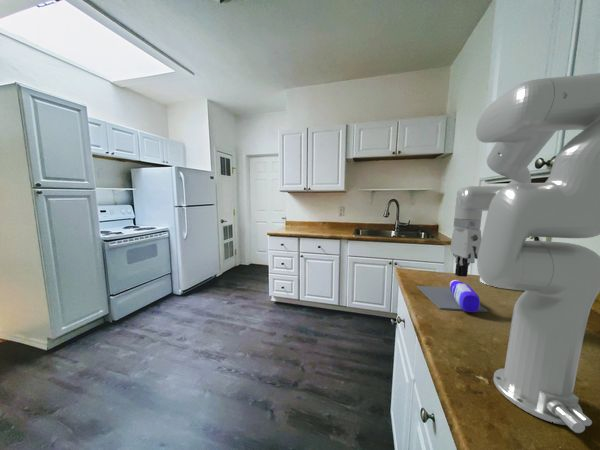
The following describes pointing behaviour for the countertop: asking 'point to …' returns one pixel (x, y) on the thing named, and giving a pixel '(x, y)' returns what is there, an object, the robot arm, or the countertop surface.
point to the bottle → (465, 296)
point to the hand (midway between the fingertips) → (460, 275)
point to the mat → (443, 298)
